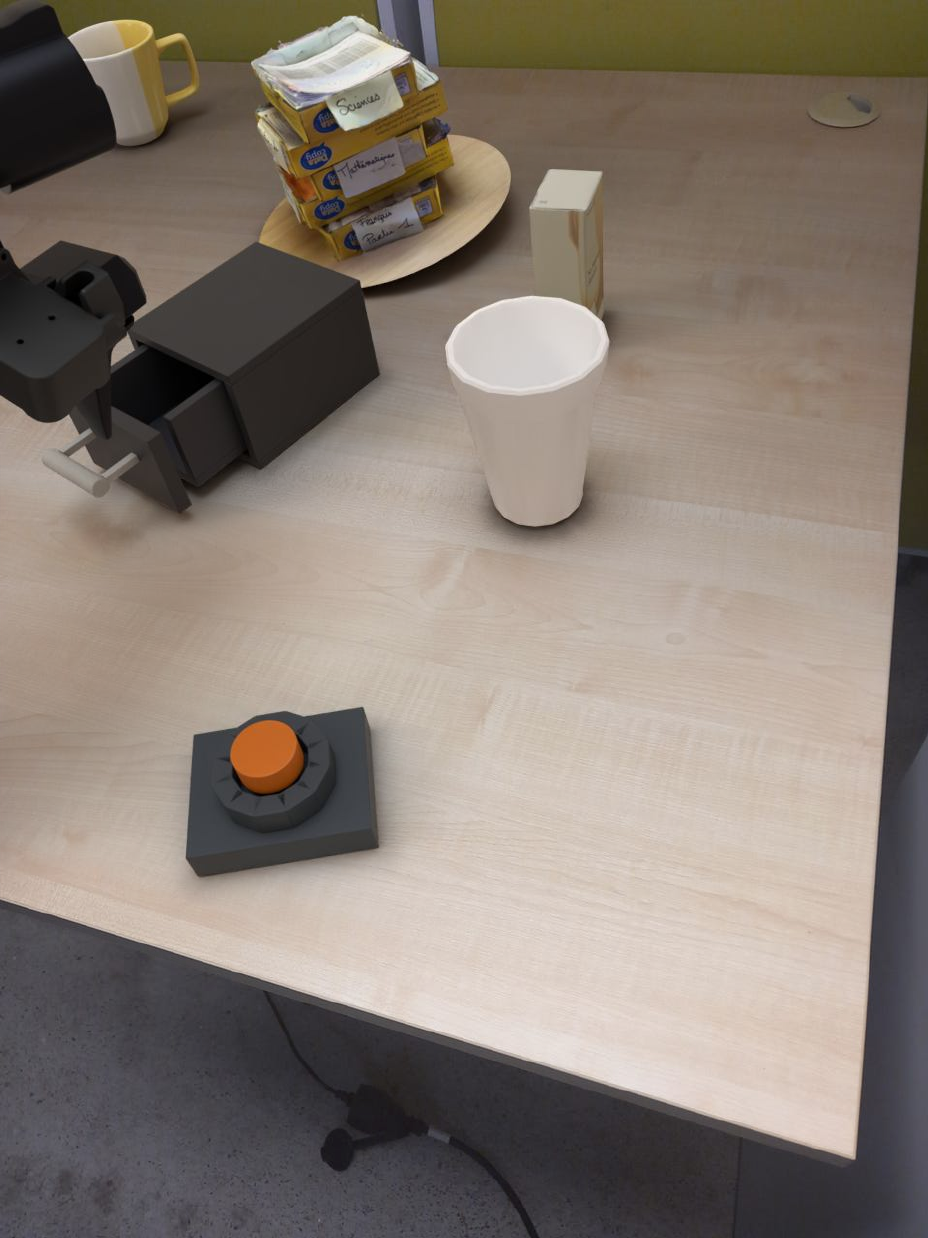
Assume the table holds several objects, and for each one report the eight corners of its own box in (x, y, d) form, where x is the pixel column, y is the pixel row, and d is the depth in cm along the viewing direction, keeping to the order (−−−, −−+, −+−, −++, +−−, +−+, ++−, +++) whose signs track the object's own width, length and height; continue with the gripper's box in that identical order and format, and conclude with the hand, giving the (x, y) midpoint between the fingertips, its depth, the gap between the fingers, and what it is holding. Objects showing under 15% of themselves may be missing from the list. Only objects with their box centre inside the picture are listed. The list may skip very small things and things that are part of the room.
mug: (97, 164, 114) (58, 65, 106) (93, 127, 121) (57, 32, 113) (217, 135, 116) (188, 36, 108) (207, 100, 122) (178, 4, 114)
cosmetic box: (589, 356, 82) (586, 212, 72) (536, 352, 83) (526, 209, 74) (606, 310, 85) (605, 167, 76) (555, 306, 87) (548, 165, 77)
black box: (260, 469, 77) (228, 376, 71) (163, 418, 83) (125, 327, 76) (380, 374, 83) (360, 279, 77) (282, 332, 89) (255, 240, 82)
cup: (451, 473, 75) (426, 318, 65) (580, 437, 76) (575, 279, 66) (491, 567, 68) (470, 410, 58) (632, 526, 69) (635, 365, 59)
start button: (238, 799, 54) (228, 782, 53) (239, 743, 57) (230, 725, 55) (305, 788, 54) (297, 771, 53) (303, 732, 57) (296, 714, 55)
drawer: (135, 550, 72) (98, 478, 67) (49, 495, 77) (8, 424, 72) (301, 419, 79) (279, 344, 74) (213, 376, 84) (187, 304, 79)
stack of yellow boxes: (262, 320, 90) (205, 130, 78) (256, 188, 106) (207, 13, 94) (536, 269, 91) (524, 72, 78) (488, 145, 107) (472, -35, 94)
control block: (198, 877, 56) (174, 842, 53) (204, 754, 61) (183, 716, 58) (378, 848, 56) (365, 811, 53) (370, 727, 61) (357, 687, 58)
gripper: (-149, 391, 39) (27, 647, 51) (172, 165, 49) (257, 424, 60) (-311, 328, 43) (-114, 577, 55) (12, 132, 53) (121, 380, 65)
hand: (49, 485), depth 59 cm, fingers open, 9 cm apart
